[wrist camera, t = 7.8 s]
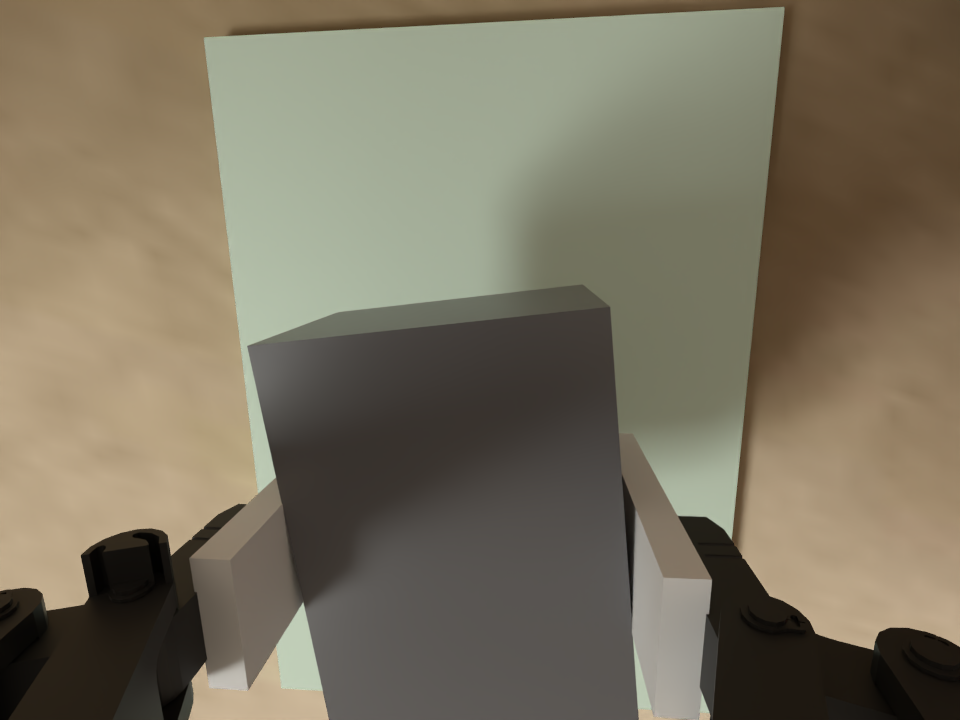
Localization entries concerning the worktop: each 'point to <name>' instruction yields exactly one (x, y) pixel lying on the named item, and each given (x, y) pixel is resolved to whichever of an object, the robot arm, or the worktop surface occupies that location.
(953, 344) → the worktop surface
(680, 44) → the rubber mat
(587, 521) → the dark gray card box
